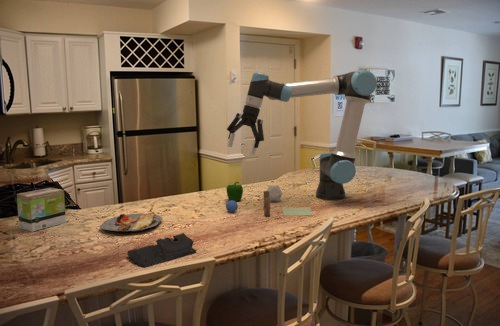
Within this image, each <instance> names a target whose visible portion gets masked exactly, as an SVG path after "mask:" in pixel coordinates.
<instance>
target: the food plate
mask: <svg viewBox="0 0 500 326" xmlns="http://www.w3.org/2000/svg"><path fill="white" fill-rule="evenodd" d="M162 220H163V217H162V216H160V215H158V214H156V213H155V212H154V211H153V212H147V213H141V212H140V213H129V214H125V213H121V214H119V215H118V216H114V217H112V218H108V219H106V220H105V221H104V222H103V223H101V224H100V226H99V228H100V229H101V230H104V231H105V230H107V231H113V232H120V233H125V232H127V233H129V232H139V231H140V232H142V231H144V230H147V229H149V228H153V227H155V226H157V225H159V223H160V222H162Z"/></svg>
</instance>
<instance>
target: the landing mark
mask: <svg viewBox="0 0 500 326" xmlns="http://www.w3.org/2000/svg"><path fill="white" fill-rule="evenodd" d="M281 210H282V212H283V216H284V217H292V216H293V217H299V216H300V217H309V216H310V217H311V216H314V214H313V212H312V208H311V207H308V206H307V207H306V206H305V207H304V206H303V207H302V206H301V207H298V206H297V207H295V206H294V207H282V209H281Z"/></svg>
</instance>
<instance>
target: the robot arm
mask: <svg viewBox="0 0 500 326" xmlns="http://www.w3.org/2000/svg"><path fill="white" fill-rule="evenodd" d="M269 78H270V76H269V75H268V74H265V73H262V72H258V71H255V72H254V73H252V77H251V79H250V83H249V85H248V92H247V95H246V99H245V101H244V103H245V105H243V109H242V113H239V112H237V113H236V114H235V117H234V119H233V120H232V121H231V122H230V124H229V125H228V126H227V128H226V131H228V132H229V133H228V138H227V139H228V143H227V145H226V146H227V147H228V148H232V147H233V144H234V140H235V136H236V132H238V130H239V129H240V128H242V127H244V126H247V127H250V129H251V131H252V134H253V137H254V140H253V142H252V145H251V148H250V149H251V150H250V153H249V154H250V155H253V156H255V155H256V151H257V149H258V148H259V146H260V142H263V141H265V137H264V136H265V135H264V129H263V122H264V120H263V119H260V118H258V117H259V116H260V111H261V109H260V108H262V104H263V101H264V100H263V99H264V97H267V98H268V99H269V100H271V101H280V102H284V103H288V102H289V101H290V100H291V99H292V98H293V99H294V98H304V97H310V96H321V95H322V96H323V95H332V94H334V96H341V95H342V96H344V98H345V100H346V102H345V108H344V112H343V116H342V121H341V125H340V128H339V132H338V137H337V143H336V147H335V149H334V150H332V151H331V153H330V152H329V153H327V152H326V153H325V152H324V153H321V154H320V155H319V159H318V160H319V183H318V186H317V188H316V191H315V197H316V198H318V199H322V200H328V201H330V200H331V201H333V200H334V201H335V200H342V199H345V198H346V191H345V187H344V184H348V183H350V182H351V181H353V179H354V177H355V176H356V172H357V171H356V170H357V169H356V166H355V162H356V155H355V154H354V152H355V149H356V143H357V139H358V136H359V135H358V134H359V130H360V126H361V123H362V118H363V115H364V109H365V105H366V104H367V103H369V102H370V98H371V95H372V94H373V93H374V92H375V91H376V89H377V85H378V81H377V80H378V79H377V78H376V75H375V74H374V73H373V72H372V71H370V70H365V69H358V70H354V71H351V72H347V73H344V74H340V75H334V76H333V77H331V78H320V79H313V80H312V79H311V80H304V81H295V82H294V81H293V82H283V83H280V82H275V81H272V80H270V79H269Z"/></svg>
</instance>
